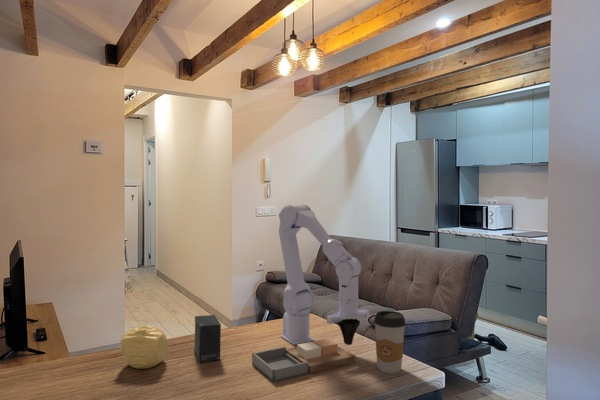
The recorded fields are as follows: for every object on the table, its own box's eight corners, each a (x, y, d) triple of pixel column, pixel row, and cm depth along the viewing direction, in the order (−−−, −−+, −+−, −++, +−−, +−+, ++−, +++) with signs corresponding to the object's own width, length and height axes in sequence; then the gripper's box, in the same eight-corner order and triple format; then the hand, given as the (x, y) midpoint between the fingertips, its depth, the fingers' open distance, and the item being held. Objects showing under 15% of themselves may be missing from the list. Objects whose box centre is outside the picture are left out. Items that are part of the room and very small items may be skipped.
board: (284, 356, 121) (284, 349, 121) (327, 346, 129) (327, 340, 129) (310, 374, 109) (310, 366, 109) (355, 362, 117) (355, 355, 117)
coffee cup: (369, 371, 111) (370, 316, 111) (378, 360, 118) (379, 308, 118) (400, 378, 107) (401, 320, 107) (408, 366, 114) (408, 312, 114)
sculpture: (114, 373, 109) (114, 332, 109) (134, 355, 121) (134, 318, 121) (157, 373, 108) (157, 333, 108) (173, 356, 120) (173, 319, 120)
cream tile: (297, 353, 118) (297, 344, 118) (311, 350, 121) (311, 341, 120) (306, 359, 114) (306, 350, 114) (321, 356, 116) (321, 347, 116)
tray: (252, 363, 115) (252, 353, 115) (284, 356, 121) (284, 346, 121) (273, 382, 104) (273, 370, 104) (308, 373, 109) (308, 362, 109)
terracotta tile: (313, 349, 121) (313, 341, 121) (327, 346, 123) (327, 338, 123) (322, 355, 116) (322, 346, 116) (337, 352, 119) (337, 343, 119)
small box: (221, 360, 118) (222, 323, 118) (198, 363, 115) (198, 326, 115) (215, 347, 128) (215, 313, 128) (193, 350, 125) (193, 315, 125)
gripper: (336, 304, 117) (336, 352, 117) (375, 298, 124) (375, 343, 124) (322, 299, 123) (322, 344, 123) (361, 293, 130) (360, 336, 130)
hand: (348, 343), depth 124 cm, fingers closed
